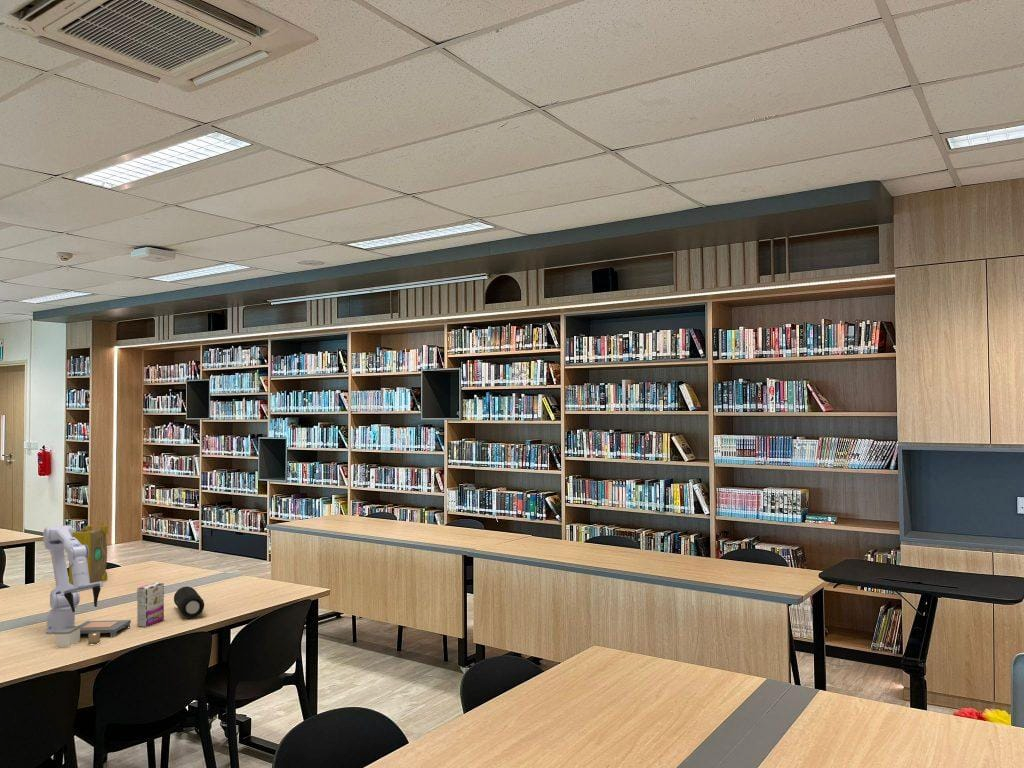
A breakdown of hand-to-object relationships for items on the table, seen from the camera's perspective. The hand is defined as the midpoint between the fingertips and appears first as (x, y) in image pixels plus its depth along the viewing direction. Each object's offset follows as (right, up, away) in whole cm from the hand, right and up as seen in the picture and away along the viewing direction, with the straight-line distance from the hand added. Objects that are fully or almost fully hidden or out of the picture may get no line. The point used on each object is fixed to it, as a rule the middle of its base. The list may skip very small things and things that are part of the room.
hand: (84, 609), depth 290 cm
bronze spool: (+6, -12, -4) cm, 14 cm away
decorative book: (-57, -18, +101) cm, 117 cm away
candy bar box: (+14, -14, +24) cm, 31 cm away
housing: (-4, -13, -4) cm, 14 cm away
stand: (0, -13, +11) cm, 17 cm away
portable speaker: (+24, -14, +40) cm, 49 cm away
